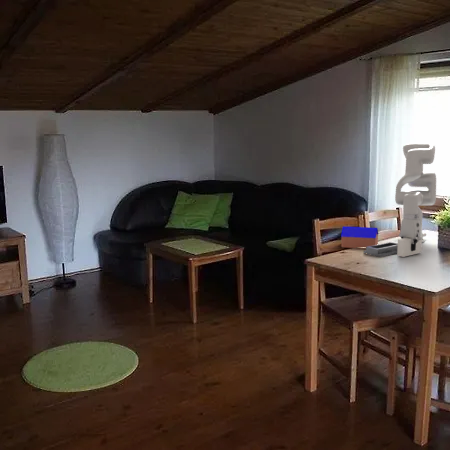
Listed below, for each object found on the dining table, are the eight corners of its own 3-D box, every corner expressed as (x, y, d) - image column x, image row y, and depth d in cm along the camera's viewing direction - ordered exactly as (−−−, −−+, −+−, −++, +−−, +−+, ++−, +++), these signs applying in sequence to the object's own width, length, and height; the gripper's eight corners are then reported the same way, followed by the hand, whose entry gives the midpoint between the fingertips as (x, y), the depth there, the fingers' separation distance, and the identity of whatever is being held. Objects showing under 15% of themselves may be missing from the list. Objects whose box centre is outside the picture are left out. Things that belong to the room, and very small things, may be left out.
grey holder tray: (387, 248, 315) (387, 241, 314) (404, 251, 305) (404, 244, 304) (363, 253, 304) (363, 246, 303) (380, 257, 294) (380, 249, 293)
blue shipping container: (375, 249, 314) (375, 229, 312) (340, 247, 322) (340, 228, 320) (378, 245, 325) (378, 226, 323) (344, 243, 333) (344, 224, 331)
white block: (415, 251, 302) (415, 235, 301) (421, 252, 299) (421, 236, 298) (397, 255, 294) (397, 239, 293) (403, 256, 291) (403, 240, 289)
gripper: (428, 217, 288) (427, 251, 291) (402, 214, 302) (401, 246, 305) (419, 219, 284) (418, 253, 287) (393, 215, 298) (392, 248, 301)
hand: (409, 249), depth 296 cm, fingers closed on white block, 4 cm apart
